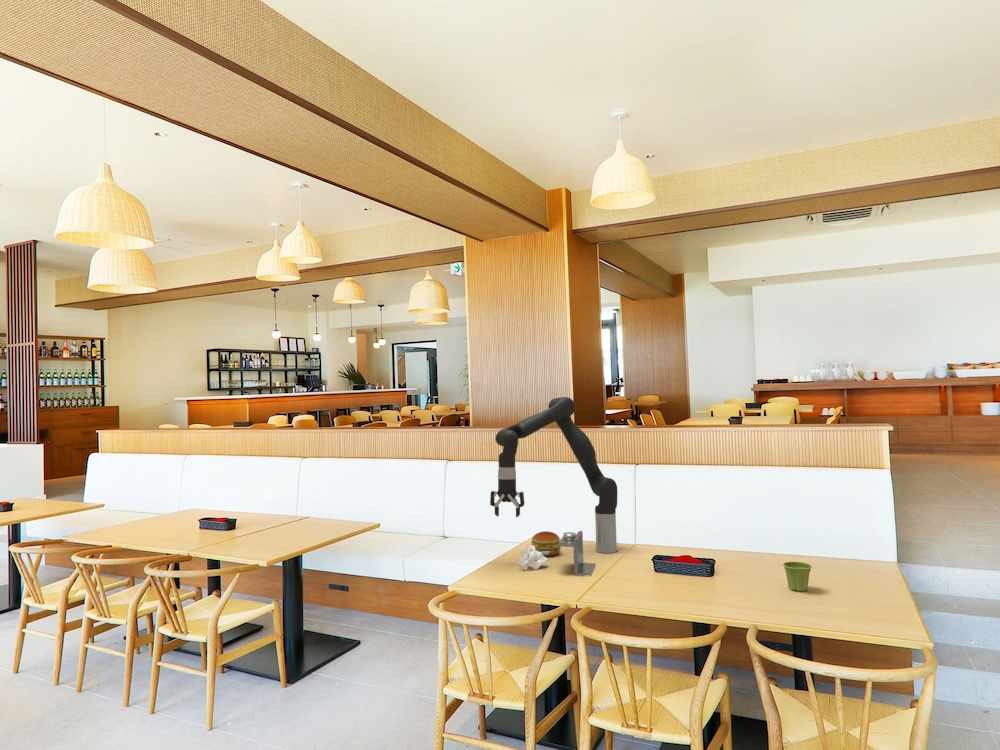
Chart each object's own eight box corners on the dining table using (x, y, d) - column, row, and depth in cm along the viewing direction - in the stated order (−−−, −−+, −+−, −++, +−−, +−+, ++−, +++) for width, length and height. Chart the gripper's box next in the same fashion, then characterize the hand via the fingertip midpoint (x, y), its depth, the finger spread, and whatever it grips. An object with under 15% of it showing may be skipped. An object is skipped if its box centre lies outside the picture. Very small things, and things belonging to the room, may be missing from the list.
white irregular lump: (550, 563, 261) (532, 547, 262) (535, 579, 261) (517, 563, 261) (548, 556, 273) (532, 540, 274) (535, 571, 273) (518, 556, 273)
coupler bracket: (565, 563, 271) (564, 529, 271) (595, 565, 268) (594, 530, 268) (559, 574, 256) (558, 537, 256) (590, 576, 252) (589, 538, 253)
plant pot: (816, 594, 224) (815, 568, 225) (787, 593, 226) (786, 568, 226) (808, 586, 233) (807, 561, 234) (780, 585, 235) (780, 561, 235)
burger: (561, 558, 281) (560, 535, 282) (530, 558, 282) (529, 535, 282) (560, 550, 295) (559, 528, 295) (530, 550, 295) (530, 528, 296)
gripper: (525, 476, 272) (525, 515, 272) (493, 476, 276) (493, 514, 275) (521, 479, 265) (521, 518, 264) (488, 478, 268) (488, 517, 268)
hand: (507, 516), depth 270 cm, fingers open, 8 cm apart
